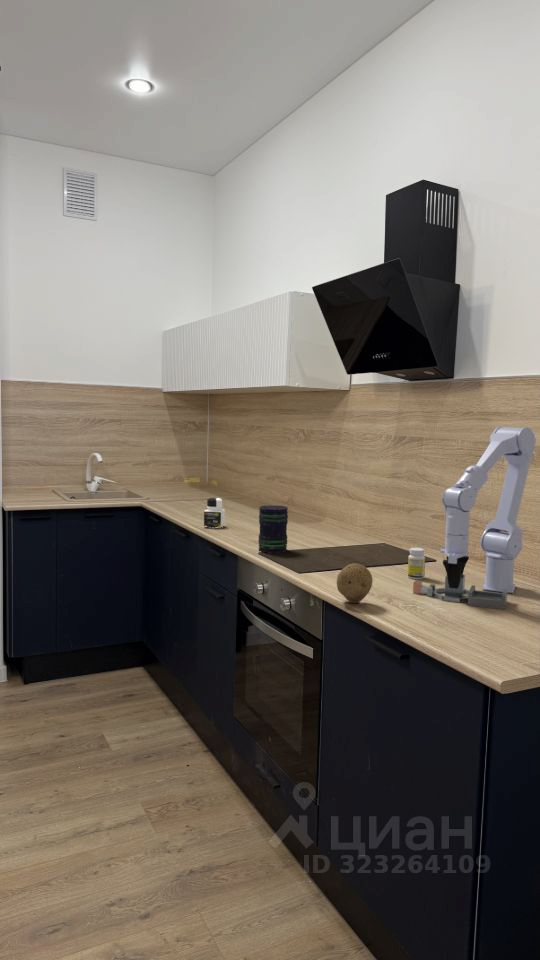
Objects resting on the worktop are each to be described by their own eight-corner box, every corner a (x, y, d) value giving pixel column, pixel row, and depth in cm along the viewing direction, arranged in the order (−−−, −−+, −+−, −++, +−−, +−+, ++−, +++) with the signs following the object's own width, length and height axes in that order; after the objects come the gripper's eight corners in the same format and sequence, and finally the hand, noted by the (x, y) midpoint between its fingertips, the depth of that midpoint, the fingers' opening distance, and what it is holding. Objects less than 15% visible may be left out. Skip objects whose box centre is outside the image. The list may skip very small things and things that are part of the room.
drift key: (415, 590, 184) (415, 580, 184) (432, 592, 182) (432, 582, 182) (413, 593, 182) (413, 582, 181) (430, 595, 180) (430, 584, 180)
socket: (432, 589, 186) (432, 581, 186) (477, 594, 182) (478, 586, 182) (425, 598, 177) (425, 590, 176) (473, 604, 172) (473, 596, 172)
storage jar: (281, 547, 242) (282, 505, 241) (291, 552, 233) (292, 508, 231) (254, 548, 239) (255, 505, 237) (263, 554, 229) (264, 509, 228)
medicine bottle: (203, 528, 280) (203, 498, 279) (208, 525, 287) (208, 496, 286) (220, 528, 279) (221, 499, 278) (224, 526, 286) (225, 497, 285)
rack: (471, 597, 178) (471, 585, 178) (506, 601, 175) (507, 589, 175) (467, 605, 171) (468, 592, 171) (504, 609, 168) (505, 596, 167)
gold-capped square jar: (447, 591, 182) (448, 563, 181) (464, 593, 180) (465, 565, 179) (444, 595, 178) (445, 567, 177) (462, 597, 176) (463, 568, 175)
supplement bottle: (413, 575, 203) (414, 546, 202) (427, 577, 200) (428, 549, 199) (404, 577, 200) (405, 548, 199) (418, 580, 196) (419, 551, 195)
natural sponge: (369, 609, 165) (370, 568, 164) (332, 606, 167) (333, 566, 167) (373, 600, 174) (375, 561, 173) (338, 597, 176) (339, 558, 175)
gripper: (445, 528, 186) (443, 578, 187) (436, 537, 172) (434, 590, 174) (472, 530, 183) (470, 581, 184) (466, 539, 170) (463, 593, 171)
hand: (454, 585), depth 179 cm, fingers closed on gold-capped square jar, 4 cm apart
